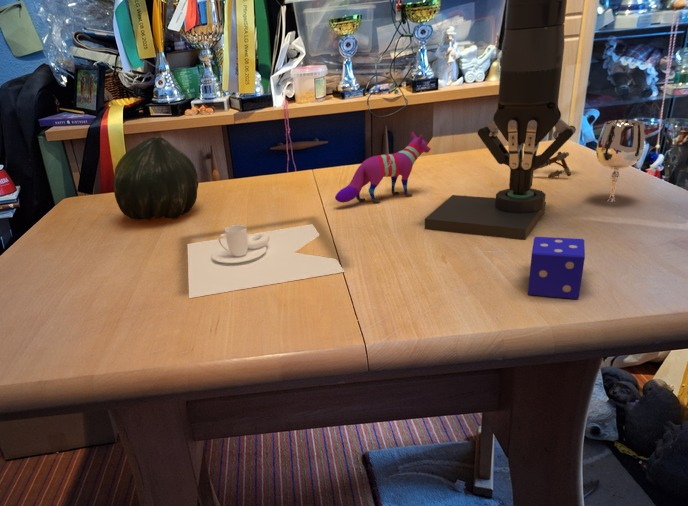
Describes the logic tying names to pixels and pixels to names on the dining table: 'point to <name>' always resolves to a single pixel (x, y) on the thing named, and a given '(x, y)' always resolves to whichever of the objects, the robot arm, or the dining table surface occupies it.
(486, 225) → the scale
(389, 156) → the striped fox figurine
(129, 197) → the squash
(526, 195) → the tare button
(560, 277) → the die
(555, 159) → the wooden post with brackets
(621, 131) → the wineglass
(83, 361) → the dining table surface
